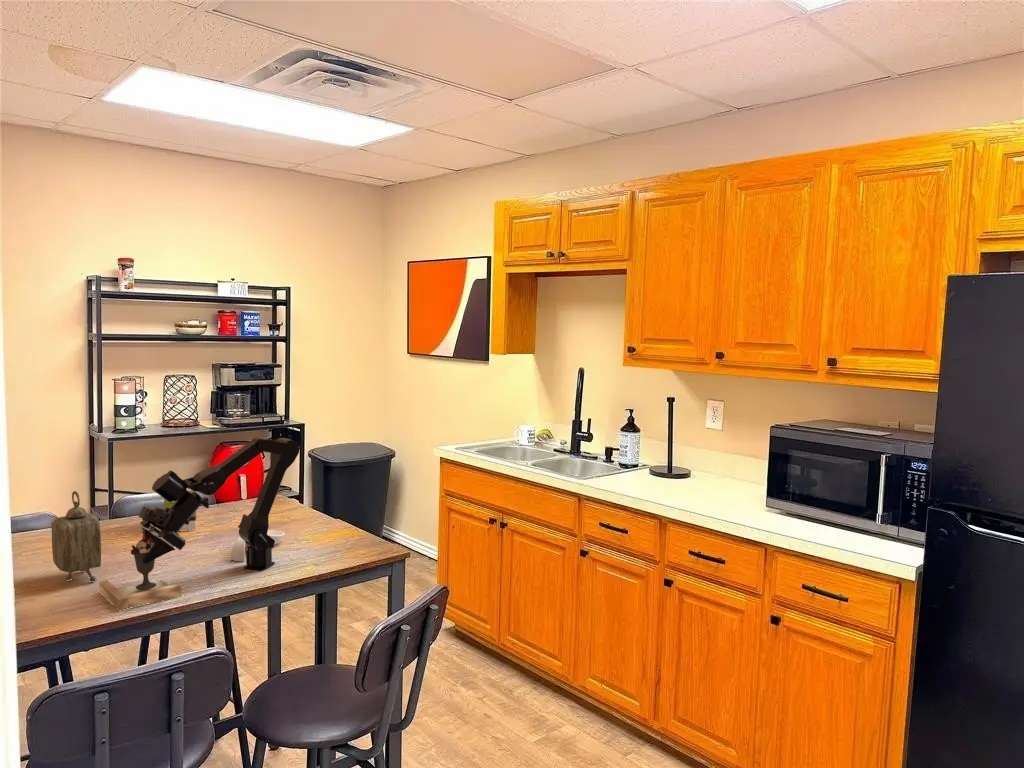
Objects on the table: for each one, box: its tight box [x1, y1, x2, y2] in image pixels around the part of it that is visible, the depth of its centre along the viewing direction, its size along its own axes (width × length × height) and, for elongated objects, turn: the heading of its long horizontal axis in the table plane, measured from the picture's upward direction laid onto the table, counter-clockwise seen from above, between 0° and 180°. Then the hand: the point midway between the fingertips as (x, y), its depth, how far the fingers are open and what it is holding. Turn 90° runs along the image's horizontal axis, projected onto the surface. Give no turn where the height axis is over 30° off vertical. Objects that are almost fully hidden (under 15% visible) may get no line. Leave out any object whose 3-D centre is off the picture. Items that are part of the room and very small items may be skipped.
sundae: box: [130, 530, 156, 590], centre depth 193 cm, size 7×7×15 cm
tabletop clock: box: [51, 490, 102, 583], centre depth 202 cm, size 14×9×25 cm, turn 43°
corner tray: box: [98, 579, 182, 611], centre depth 192 cm, size 15×17×3 cm
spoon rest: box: [229, 529, 285, 562], centre depth 232 cm, size 24×12×7 cm, turn 172°
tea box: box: [163, 488, 197, 531], centre depth 255 cm, size 15×10×15 cm
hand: (139, 559), depth 192 cm, fingers closed on sundae, 6 cm apart
